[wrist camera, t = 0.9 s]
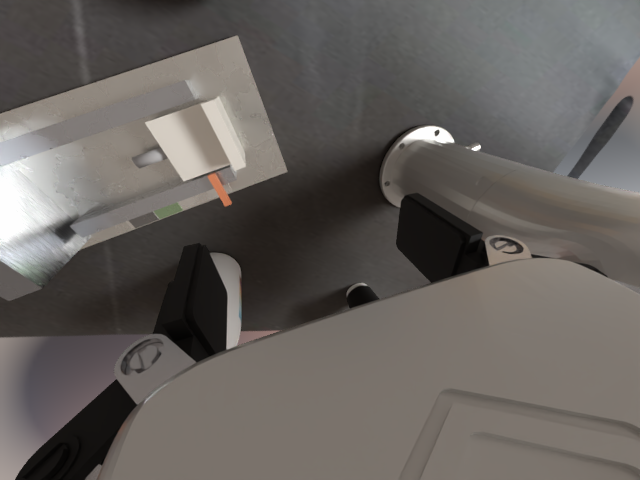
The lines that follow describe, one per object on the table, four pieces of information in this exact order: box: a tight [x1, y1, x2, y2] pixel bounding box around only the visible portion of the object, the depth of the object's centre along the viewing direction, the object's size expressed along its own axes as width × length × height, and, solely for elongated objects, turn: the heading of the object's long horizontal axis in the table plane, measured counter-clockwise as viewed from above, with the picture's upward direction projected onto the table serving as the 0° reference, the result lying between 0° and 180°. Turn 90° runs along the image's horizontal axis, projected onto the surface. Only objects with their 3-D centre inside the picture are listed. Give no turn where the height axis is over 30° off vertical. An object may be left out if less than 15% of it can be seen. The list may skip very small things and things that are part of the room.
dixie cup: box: [346, 283, 379, 308], centre depth 45 cm, size 8×8×11 cm
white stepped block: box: [132, 96, 246, 206], centre depth 25 cm, size 10×10×6 cm
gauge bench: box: [0, 35, 288, 301], centre depth 23 cm, size 28×14×10 cm, turn 106°
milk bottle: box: [210, 252, 241, 350], centre depth 29 cm, size 8×8×20 cm
